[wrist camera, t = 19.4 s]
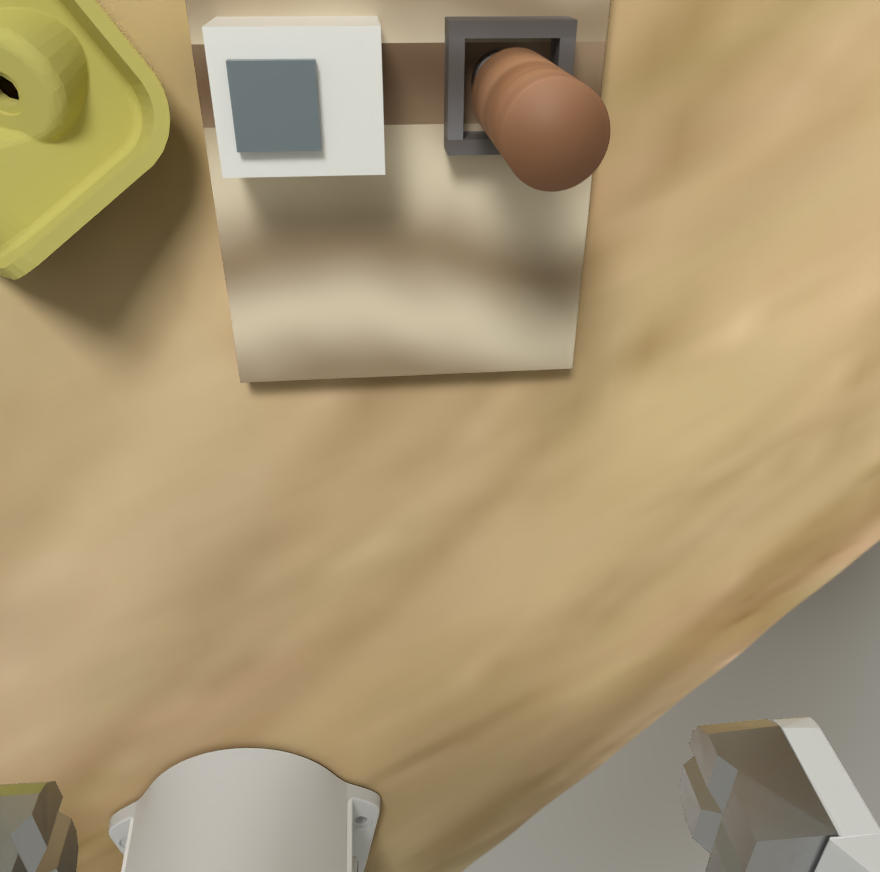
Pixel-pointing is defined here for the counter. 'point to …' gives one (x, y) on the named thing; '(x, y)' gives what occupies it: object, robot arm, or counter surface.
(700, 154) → the counter surface
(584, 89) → the brown rounded cylinder
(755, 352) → the counter surface
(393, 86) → the beige flat block
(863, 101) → the counter surface
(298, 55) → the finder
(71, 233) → the plastic component
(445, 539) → the counter surface
